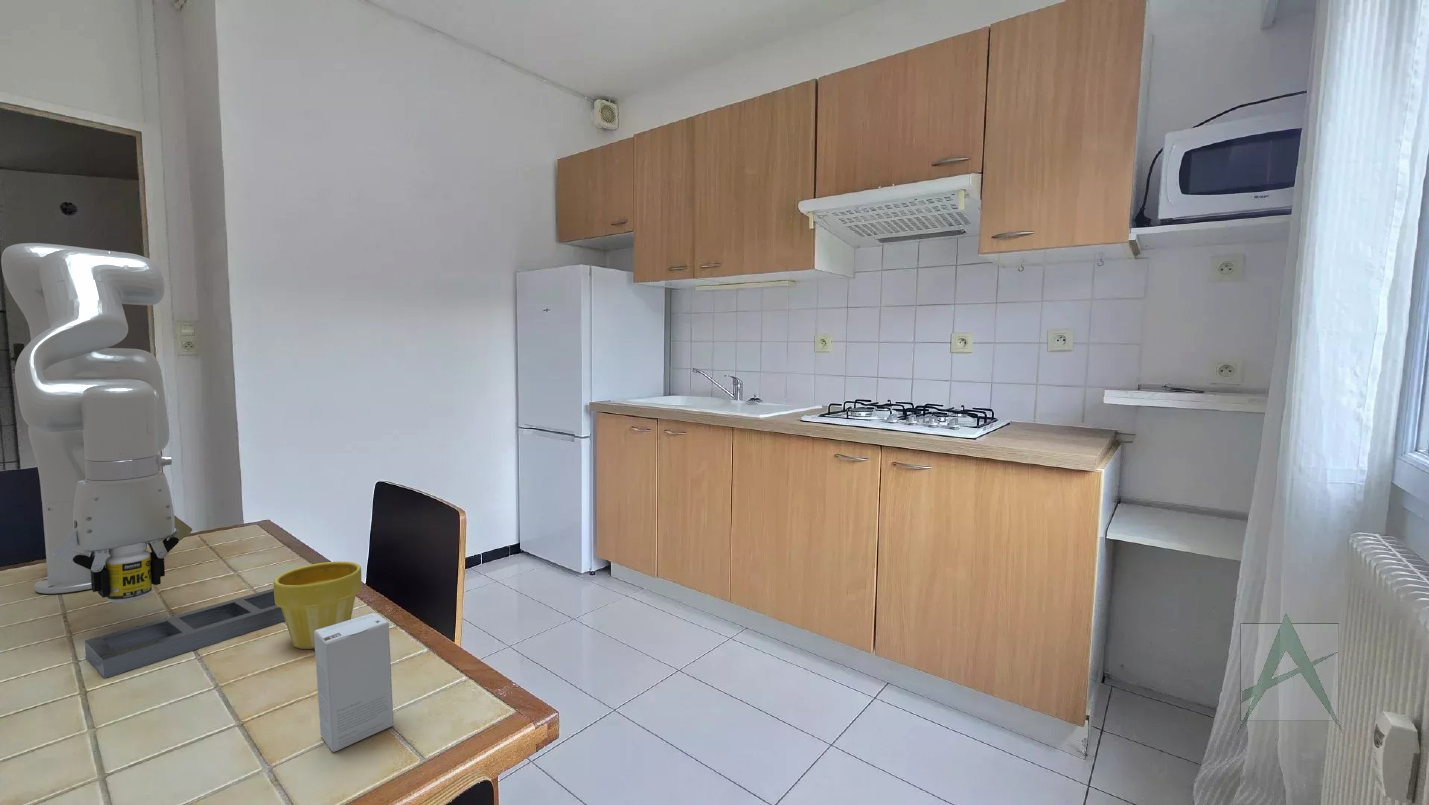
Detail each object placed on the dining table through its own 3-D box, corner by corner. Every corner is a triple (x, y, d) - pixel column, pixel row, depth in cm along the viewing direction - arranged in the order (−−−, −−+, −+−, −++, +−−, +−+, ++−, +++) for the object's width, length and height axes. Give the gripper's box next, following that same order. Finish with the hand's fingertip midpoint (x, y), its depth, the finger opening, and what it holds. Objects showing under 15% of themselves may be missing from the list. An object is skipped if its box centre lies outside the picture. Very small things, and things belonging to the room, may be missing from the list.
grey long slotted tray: (85, 657, 78) (84, 640, 78) (298, 595, 99) (297, 581, 99) (104, 678, 73) (103, 660, 73) (324, 608, 94) (323, 594, 93)
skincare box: (379, 712, 66) (376, 609, 65) (395, 728, 63) (392, 620, 62) (316, 738, 61) (312, 628, 61) (330, 757, 59) (326, 641, 58)
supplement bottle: (123, 605, 84) (120, 549, 83) (98, 601, 85) (94, 545, 84) (160, 592, 88) (158, 538, 87) (136, 588, 89) (133, 535, 88)
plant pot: (330, 618, 90) (327, 556, 90) (379, 628, 87) (377, 565, 86) (258, 648, 80) (255, 580, 80) (311, 662, 77) (308, 590, 76)
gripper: (190, 457, 94) (194, 565, 95) (29, 474, 79) (37, 601, 81) (207, 464, 90) (211, 577, 91) (40, 483, 75) (49, 616, 77)
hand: (129, 587), depth 86 cm, fingers closed on supplement bottle, 4 cm apart
